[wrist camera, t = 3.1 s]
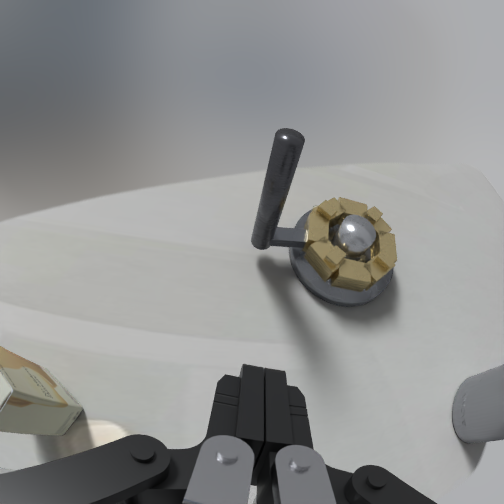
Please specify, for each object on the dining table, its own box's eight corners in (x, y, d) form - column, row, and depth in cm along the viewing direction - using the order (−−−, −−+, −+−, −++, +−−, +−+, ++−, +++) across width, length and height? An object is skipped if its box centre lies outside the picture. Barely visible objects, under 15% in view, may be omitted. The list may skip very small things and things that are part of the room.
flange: (384, 225, 40) (402, 200, 35) (389, 314, 33) (415, 295, 28) (294, 202, 39) (305, 172, 35) (282, 294, 33) (295, 270, 28)
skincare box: (85, 407, 23) (17, 393, 13) (63, 437, 21) (-11, 435, 11) (44, 365, 25) (-27, 327, 14) (23, 393, 22) (-53, 366, 12)
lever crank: (383, 223, 37) (438, 142, 25) (388, 297, 32) (467, 224, 20) (261, 192, 37) (284, 91, 25) (245, 268, 32) (269, 164, 19)
